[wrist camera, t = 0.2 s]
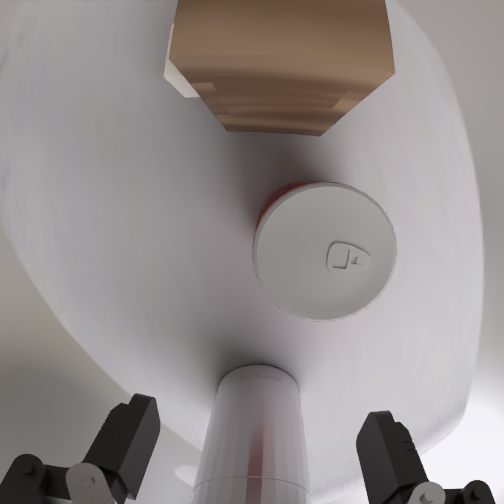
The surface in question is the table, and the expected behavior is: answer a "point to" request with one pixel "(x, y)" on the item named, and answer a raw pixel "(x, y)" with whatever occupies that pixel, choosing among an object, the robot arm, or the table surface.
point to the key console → (282, 59)
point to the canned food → (323, 250)
